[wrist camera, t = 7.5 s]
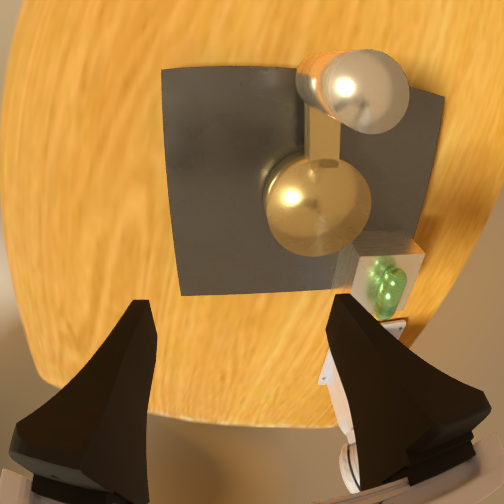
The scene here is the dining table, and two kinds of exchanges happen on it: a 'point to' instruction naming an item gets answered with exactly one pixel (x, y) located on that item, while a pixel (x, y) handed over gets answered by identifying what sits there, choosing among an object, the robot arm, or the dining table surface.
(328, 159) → the gold rounded piece
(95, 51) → the dining table surface
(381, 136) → the instrument base
